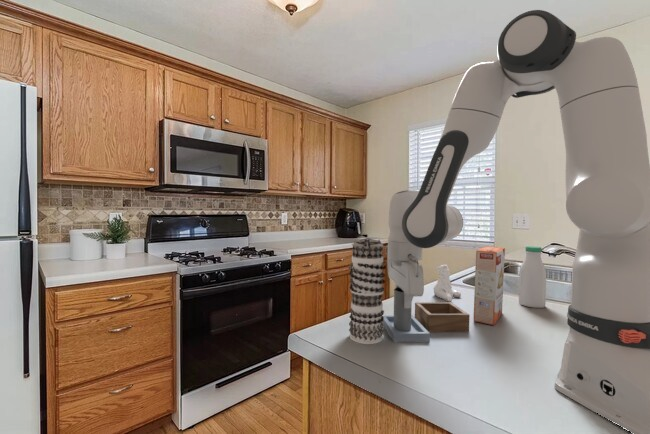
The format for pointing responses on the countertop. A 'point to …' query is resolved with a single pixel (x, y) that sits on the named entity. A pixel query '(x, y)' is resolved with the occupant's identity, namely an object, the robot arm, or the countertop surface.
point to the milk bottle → (532, 279)
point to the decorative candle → (367, 291)
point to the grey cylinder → (401, 312)
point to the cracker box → (489, 284)
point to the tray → (413, 335)
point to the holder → (441, 317)
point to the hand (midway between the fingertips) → (403, 303)
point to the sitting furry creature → (445, 285)
